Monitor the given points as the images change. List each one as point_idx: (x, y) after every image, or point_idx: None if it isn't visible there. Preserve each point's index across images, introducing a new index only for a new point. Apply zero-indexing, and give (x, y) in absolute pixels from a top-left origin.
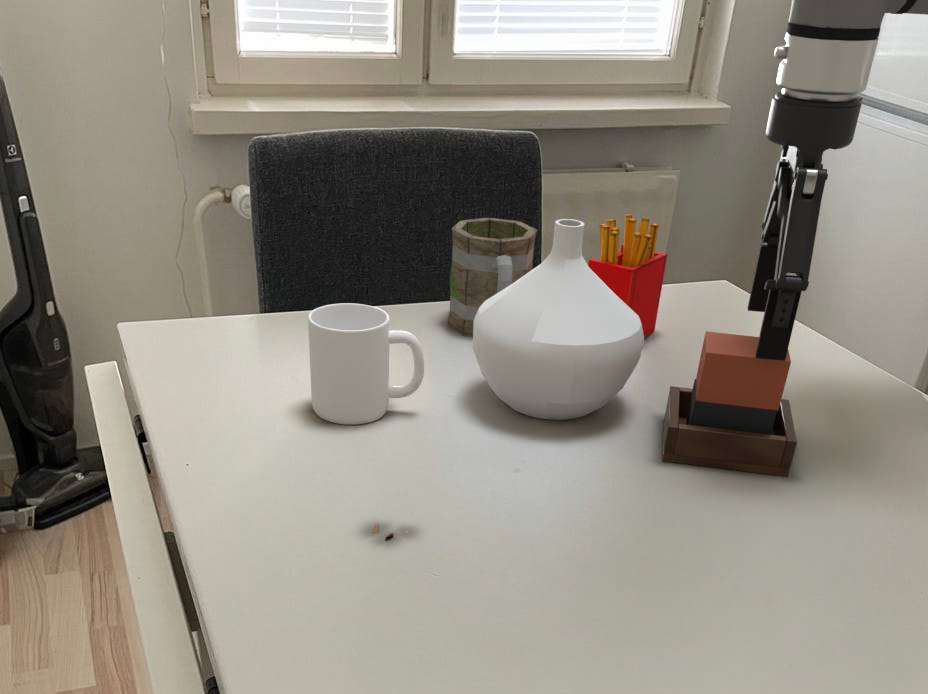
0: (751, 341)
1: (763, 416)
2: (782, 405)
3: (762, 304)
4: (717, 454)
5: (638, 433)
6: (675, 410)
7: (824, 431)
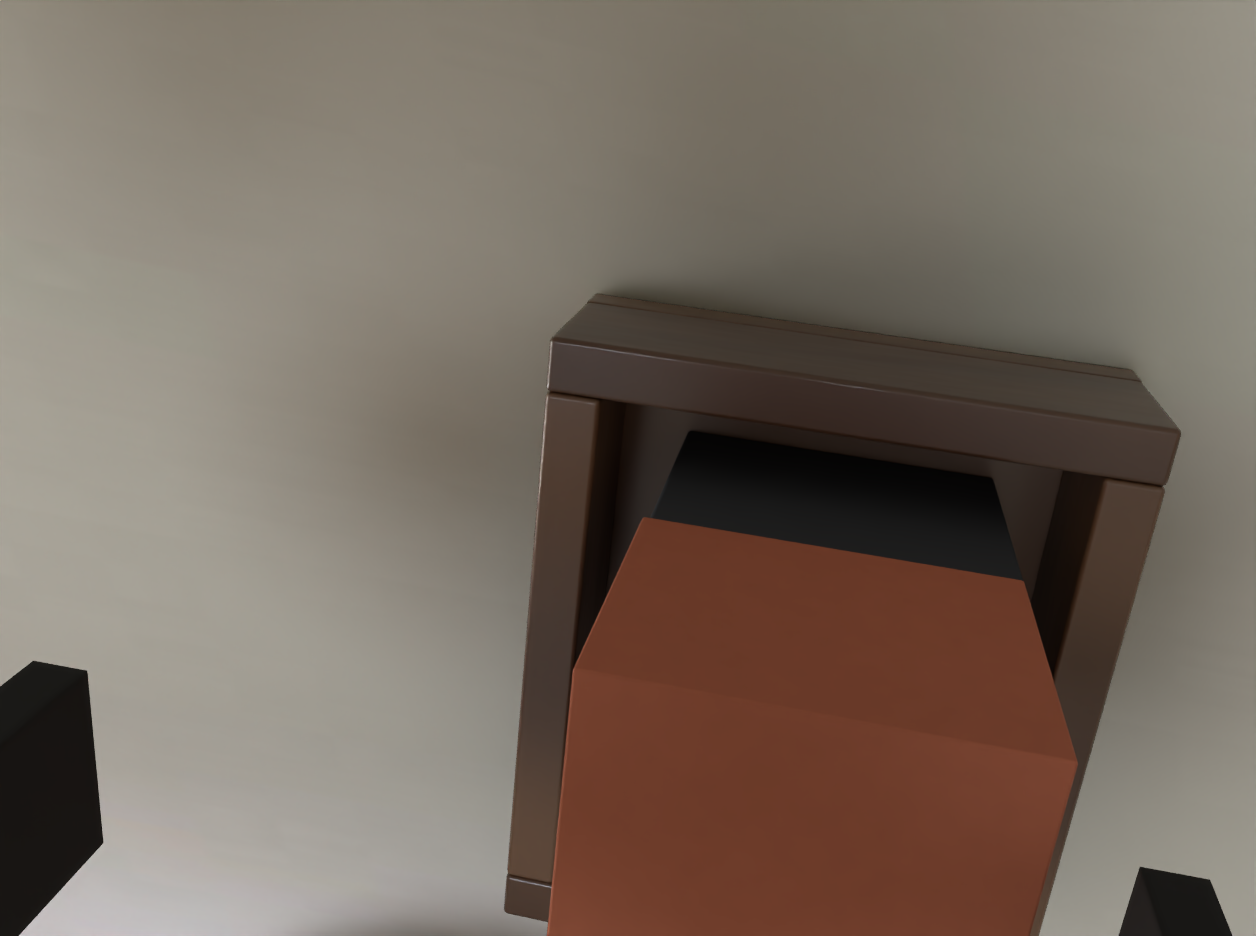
0: (669, 925)
1: None
2: (647, 398)
3: (58, 794)
4: None
5: None
6: None
7: (527, 29)
